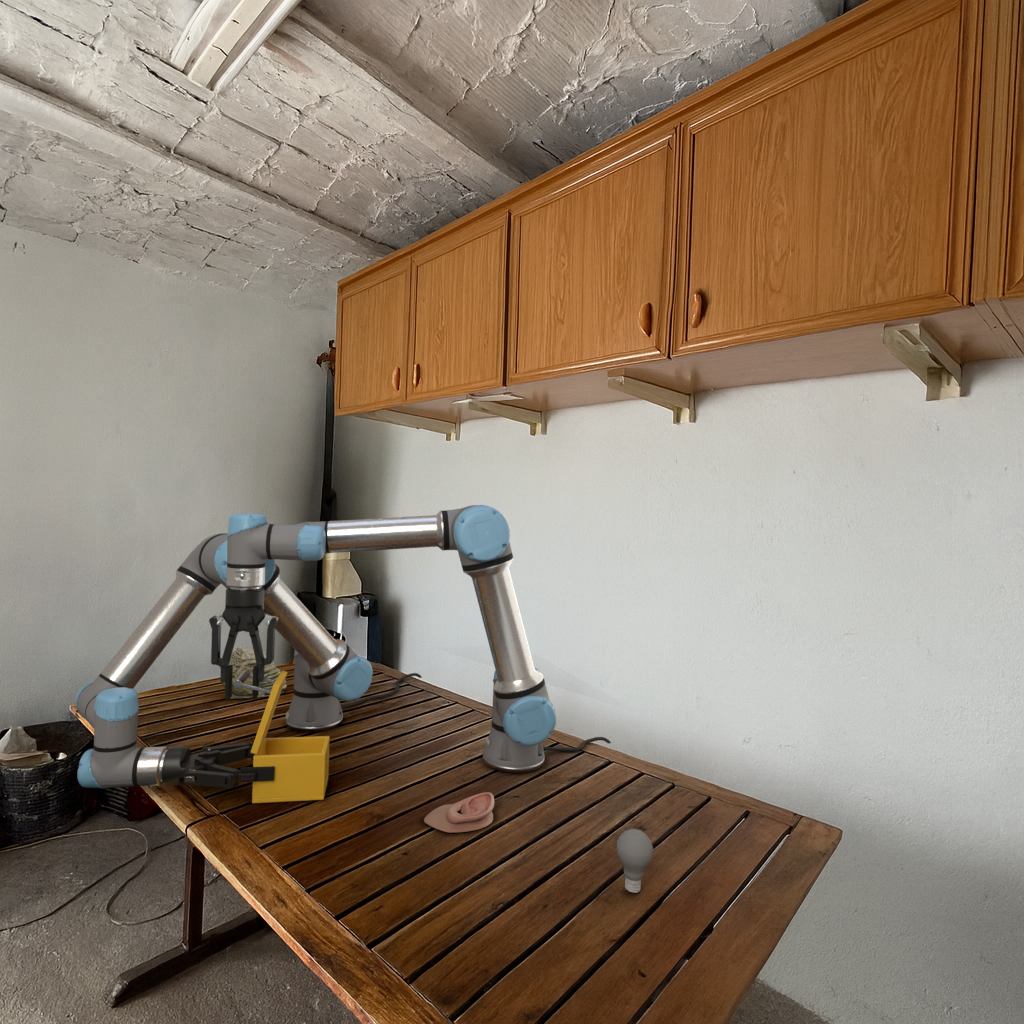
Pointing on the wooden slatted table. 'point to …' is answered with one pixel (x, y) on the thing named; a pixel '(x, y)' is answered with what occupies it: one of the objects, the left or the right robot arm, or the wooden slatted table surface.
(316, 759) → the chest
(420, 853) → the wooden slatted table surface
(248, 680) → the fossil
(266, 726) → the lid
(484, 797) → the anatomical model
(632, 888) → the light bulb
